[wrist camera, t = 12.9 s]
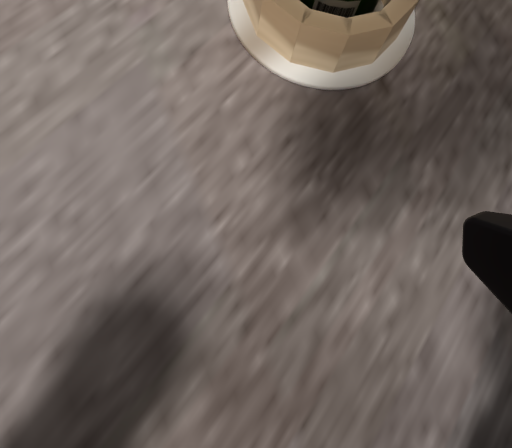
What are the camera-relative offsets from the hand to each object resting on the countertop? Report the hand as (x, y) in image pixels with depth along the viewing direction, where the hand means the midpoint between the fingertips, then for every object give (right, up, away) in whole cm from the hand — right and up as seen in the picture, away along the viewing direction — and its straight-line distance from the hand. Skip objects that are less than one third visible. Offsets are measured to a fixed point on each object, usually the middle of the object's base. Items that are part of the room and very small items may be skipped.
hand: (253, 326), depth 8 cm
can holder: (+4, +14, +19) cm, 24 cm away
